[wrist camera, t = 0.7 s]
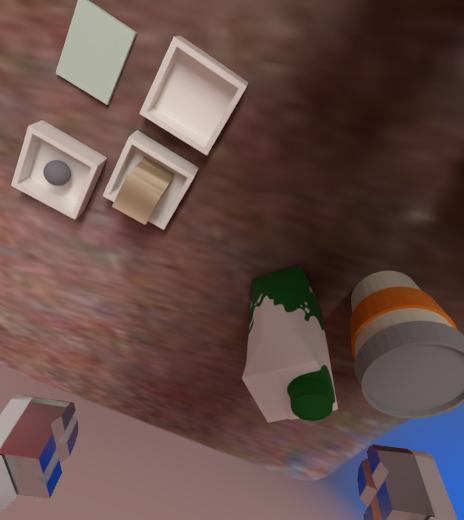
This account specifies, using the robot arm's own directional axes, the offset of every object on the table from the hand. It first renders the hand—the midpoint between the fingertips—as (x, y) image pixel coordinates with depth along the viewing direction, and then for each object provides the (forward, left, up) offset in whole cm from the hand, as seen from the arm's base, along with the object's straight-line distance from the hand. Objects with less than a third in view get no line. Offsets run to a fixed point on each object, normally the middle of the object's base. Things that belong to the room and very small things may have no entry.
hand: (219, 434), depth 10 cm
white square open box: (+17, -17, -38) cm, 45 cm away
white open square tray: (+1, -7, -38) cm, 38 cm away
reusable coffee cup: (+10, +28, -38) cm, 48 cm away
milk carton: (+17, +16, -38) cm, 44 cm away
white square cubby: (+12, -7, -38) cm, 40 cm away
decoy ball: (+17, -17, -36) cm, 43 cm away
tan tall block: (+12, -7, -37) cm, 40 cm away
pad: (+3, -18, -38) cm, 42 cm away
